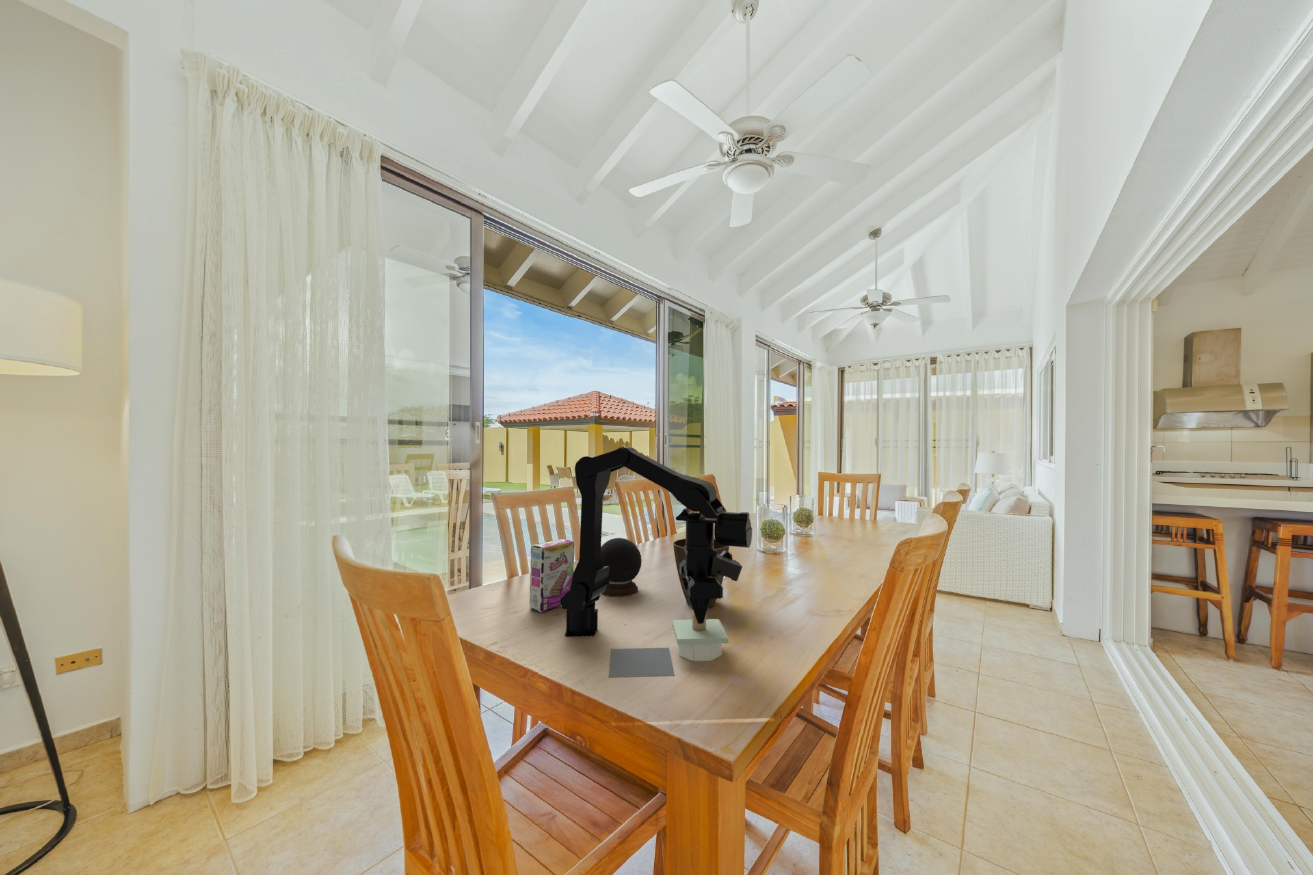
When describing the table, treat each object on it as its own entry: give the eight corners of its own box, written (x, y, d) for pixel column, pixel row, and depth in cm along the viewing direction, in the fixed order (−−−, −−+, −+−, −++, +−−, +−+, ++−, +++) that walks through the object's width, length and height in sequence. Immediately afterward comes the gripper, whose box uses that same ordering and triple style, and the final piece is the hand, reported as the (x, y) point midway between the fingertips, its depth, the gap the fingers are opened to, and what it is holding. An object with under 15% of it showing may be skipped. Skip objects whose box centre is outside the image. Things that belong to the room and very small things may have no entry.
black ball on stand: (629, 581, 150) (629, 532, 150) (649, 593, 138) (649, 540, 138) (588, 587, 143) (589, 536, 143) (605, 600, 132) (606, 544, 132)
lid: (677, 644, 94) (677, 620, 95) (672, 624, 104) (672, 603, 104) (728, 643, 95) (728, 620, 95) (718, 623, 105) (718, 602, 105)
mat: (608, 679, 89) (608, 677, 89) (610, 650, 101) (610, 648, 101) (674, 677, 89) (674, 675, 89) (668, 649, 101) (668, 647, 101)
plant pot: (675, 593, 138) (676, 536, 139) (729, 595, 136) (729, 538, 136) (669, 611, 124) (670, 548, 124) (729, 614, 122) (729, 550, 122)
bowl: (680, 663, 95) (680, 642, 95) (675, 644, 104) (676, 625, 104) (724, 662, 96) (724, 641, 96) (716, 643, 104) (716, 624, 104)
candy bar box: (542, 613, 122) (542, 547, 122) (529, 609, 125) (529, 545, 125) (574, 601, 131) (575, 540, 131) (561, 598, 134) (562, 538, 134)
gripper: (750, 553, 91) (749, 637, 91) (729, 534, 110) (728, 603, 110) (690, 554, 90) (690, 638, 90) (679, 534, 109) (679, 604, 109)
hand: (699, 619), depth 100 cm, fingers open, 4 cm apart
